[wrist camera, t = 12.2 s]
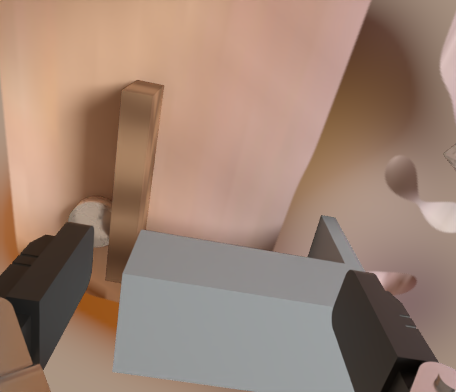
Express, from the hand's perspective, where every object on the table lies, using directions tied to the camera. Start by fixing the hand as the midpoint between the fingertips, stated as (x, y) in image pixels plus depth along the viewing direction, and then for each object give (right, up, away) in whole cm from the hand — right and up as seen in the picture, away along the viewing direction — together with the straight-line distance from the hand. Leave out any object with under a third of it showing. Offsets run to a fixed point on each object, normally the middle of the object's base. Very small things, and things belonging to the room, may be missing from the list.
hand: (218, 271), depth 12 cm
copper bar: (-8, +5, +27) cm, 28 cm away
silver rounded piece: (-13, 0, +29) cm, 32 cm away
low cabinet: (+1, -2, +30) cm, 30 cm away
